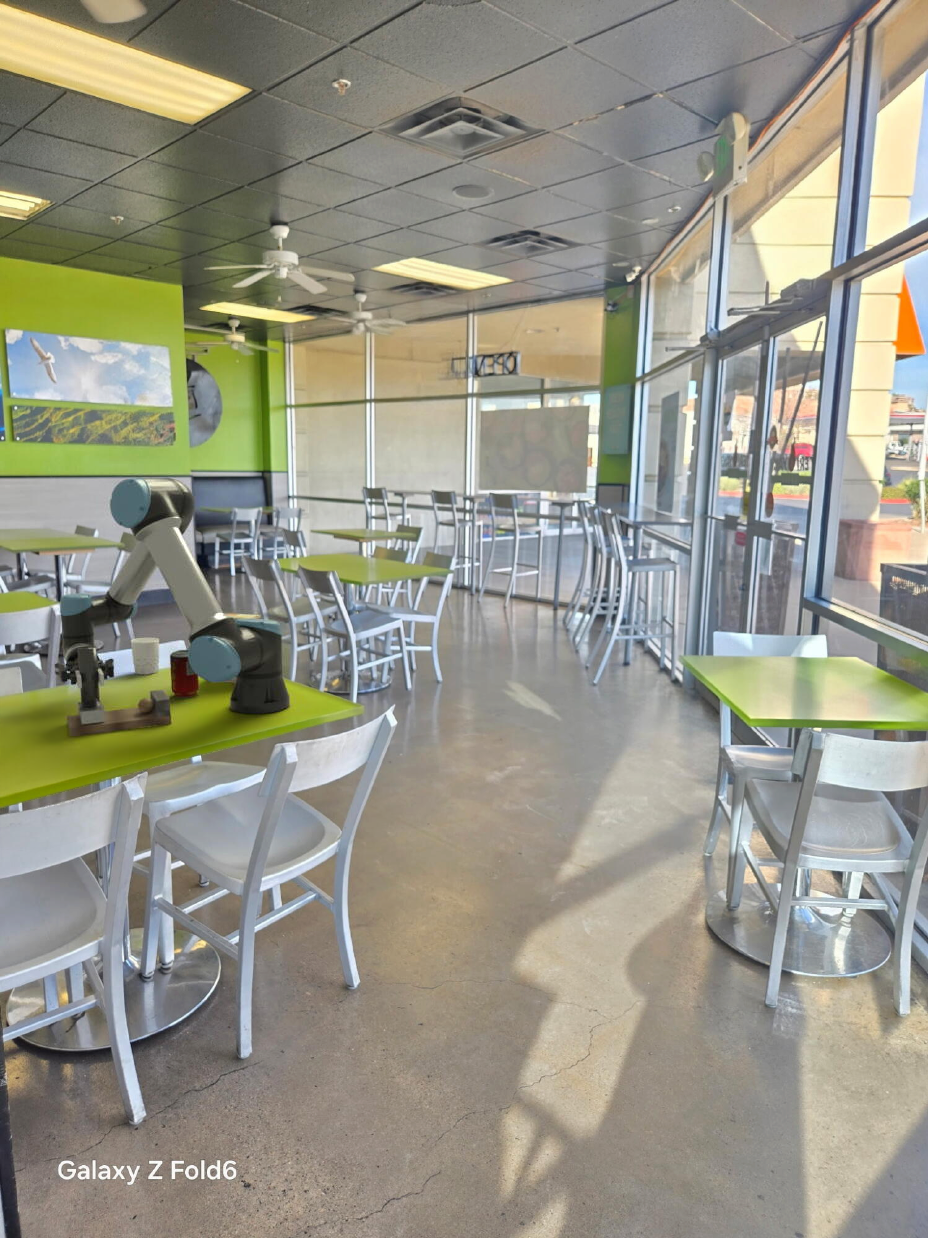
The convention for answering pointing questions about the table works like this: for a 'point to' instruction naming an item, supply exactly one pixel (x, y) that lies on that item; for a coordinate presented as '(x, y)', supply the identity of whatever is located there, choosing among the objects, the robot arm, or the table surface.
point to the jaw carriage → (89, 687)
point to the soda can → (183, 675)
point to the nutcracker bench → (127, 717)
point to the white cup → (145, 655)
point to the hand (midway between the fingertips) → (91, 681)
